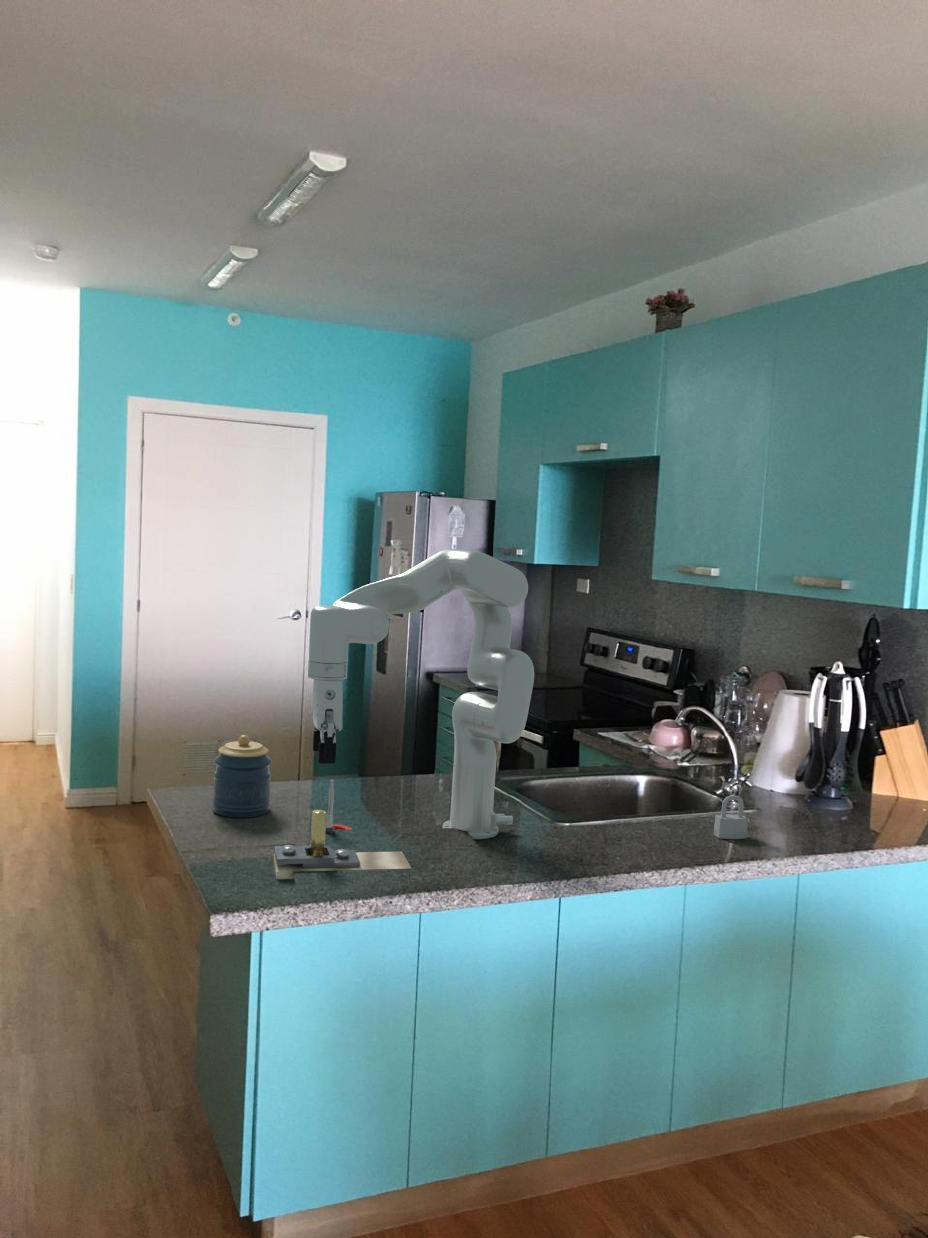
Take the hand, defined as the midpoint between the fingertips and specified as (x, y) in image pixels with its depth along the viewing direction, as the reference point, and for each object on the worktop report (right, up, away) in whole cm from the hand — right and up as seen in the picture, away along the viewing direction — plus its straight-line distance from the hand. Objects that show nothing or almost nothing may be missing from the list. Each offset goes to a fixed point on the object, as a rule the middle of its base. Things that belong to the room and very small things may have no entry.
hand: (323, 756), depth 201 cm
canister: (-24, -17, +37) cm, 47 cm away
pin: (-2, -21, +2) cm, 21 cm away
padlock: (+90, -24, +41) cm, 101 cm away
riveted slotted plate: (-2, -21, +1) cm, 21 cm away
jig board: (+3, -22, +3) cm, 23 cm away
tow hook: (-1, -20, +24) cm, 32 cm away
